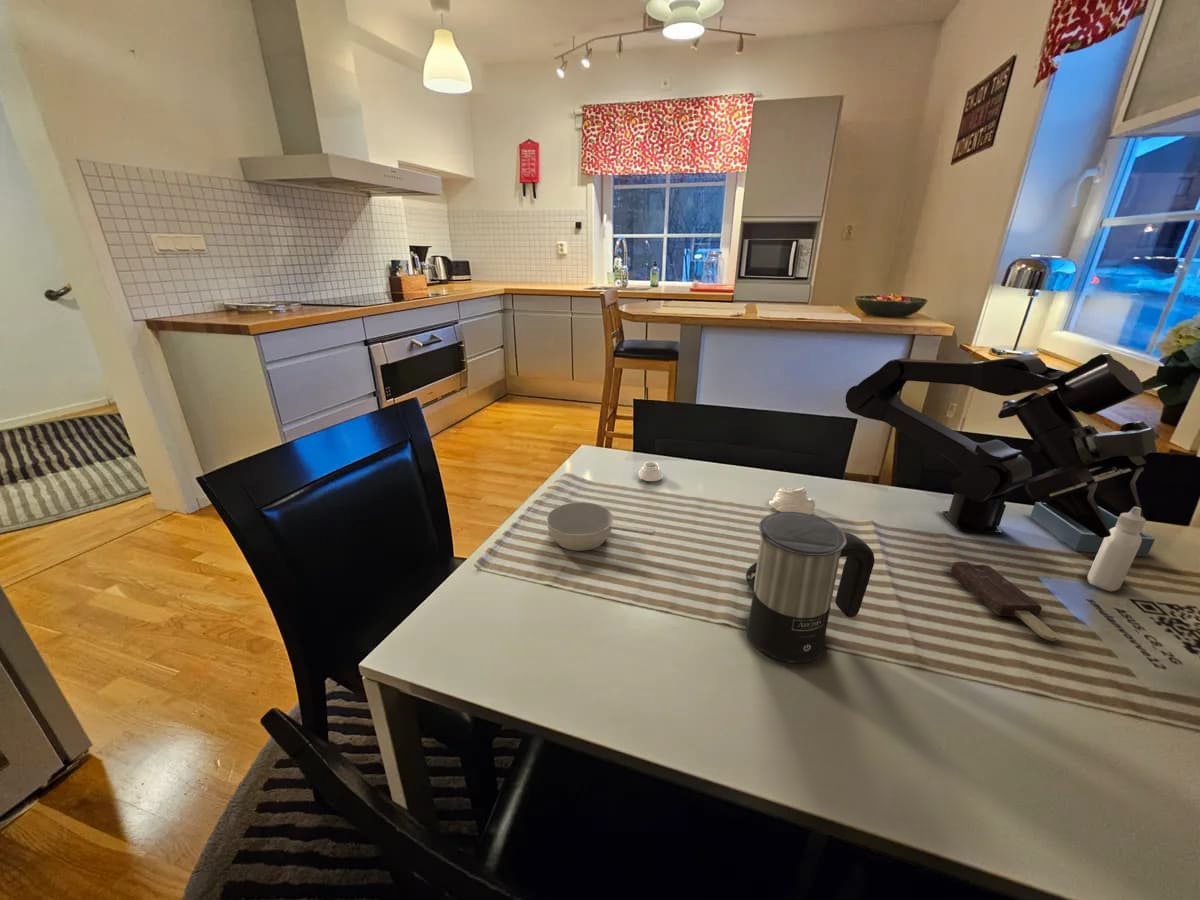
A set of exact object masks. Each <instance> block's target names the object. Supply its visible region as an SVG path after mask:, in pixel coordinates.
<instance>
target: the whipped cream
mask: <svg viewBox="0 0 1200 900" xmlns="http://www.w3.org/2000/svg"><path fill="white" fill-rule="evenodd" d="M768 505H770V506H771V507H773V508H774V509H775V511H778V512H801V513H805V514H810V515H814V512H815V508H816V501H815V499H814V498H813V497H808V493H807V489H806V488H805V487H804V486H803V487H800V488H796V489H795V488H788V487H780V488H779V489H778V490H777V491H776V493H775V495H774V497H772V500H769V501H768Z"/></svg>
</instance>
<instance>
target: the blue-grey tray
mask: <svg viewBox="0 0 1200 900" xmlns="http://www.w3.org/2000/svg"><path fill="white" fill-rule="evenodd" d="M1097 506H1098V508H1099V510H1100V512H1101V514H1102V516H1103V518H1104V520H1105V522H1106V524H1107V526H1108V528H1109V530H1110V529H1111V528H1114V527H1115V525H1116V523H1117V521H1118V518H1119V517H1118V516H1116V515H1114V514H1113V513H1111V512H1110V511H1108V510H1106V509H1104V508H1103V507H1101V506H1099V505H1097ZM1029 518H1030V519H1031V520H1033V521H1034V522H1036V524H1038V525H1040V527H1042V528H1043V529H1045V530H1046V531H1048V532H1049V533H1051V534H1052V535H1053V536H1055V537H1056V539H1058V540H1060V541H1061V542H1062V543H1064V544H1066V546H1068V547H1069V548H1071V549H1072V550H1074V551H1076V552H1088V553H1098V551H1099V549H1100V546H1101V544H1102V542H1103V540H1104V538H1100V537H1099V536H1097V535H1096V534H1094V533H1093V532H1091V531H1090V530H1088V529H1087V528H1085V527H1084V526H1082V525H1080V524H1079V523H1077V522H1076V521H1074V520H1073V519H1071V518H1070V517H1068V516H1066V515H1065V514H1063V513H1061V512H1060V511H1058V510H1056V509H1055V508H1053V507H1051V506H1050V505H1048V504H1046V503H1041V502H1040V501H1035V503H1034V505H1033V507H1032V510H1031V513H1030V515H1029ZM1139 534H1140V536H1141V539H1142V542H1141V545H1140V547H1139V549H1138V551H1137V553H1136V555H1135V557H1137V556H1138V557H1148V555H1149V553H1150V551H1151V549H1152V546H1153V545H1154V542H1155V541H1156V539H1155V538H1153V537H1151V536H1150V535H1148V534H1147V533H1146V532H1143V531H1142V530H1141V532H1140V533H1139Z"/></svg>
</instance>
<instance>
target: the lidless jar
mask: <svg viewBox="0 0 1200 900" xmlns="http://www.w3.org/2000/svg"><path fill="white" fill-rule="evenodd" d="M663 477H664V476H663V472H662V469H661V468H660V466H659V463H657V462H654V461H646V462H645V463H643V466H641V468H640V470H639V471H638V478H640V479H641V480H643V481H646V482H656V481H660V480H662V479H663Z"/></svg>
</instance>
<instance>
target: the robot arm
mask: <svg viewBox="0 0 1200 900" xmlns="http://www.w3.org/2000/svg"><path fill="white" fill-rule="evenodd" d="M907 382H920V383H934V384H935V383H936V384H948V385H961V386H962V385H963V386H966V387H971V388H973V389H976V390H978V391H981V392H985V393H988V394H994V395H998V396H1003V397H1011V396H1016V395H1020V394H1025V393H1030V392H1032V393H1030V394H1028V395H1026V396H1024V397H1022V398H1020V399H1018V400H1014V399H1009V400H1004V401H1003V402H1002V407H1001V409H1000V410H999V413H998V415H997V417H998V419H1007V418H1013V417H1015V416H1016V417H1017V419H1018V420H1019V421H1020V423H1021V424H1022V426H1023V427H1024V429H1025V430H1026V432H1027V433H1028V435H1029V437H1030V438H1031V440H1032V442H1034V444H1033V445H1030V446H1029V448H1030V449H1031V451H1032V452H1033V453H1037V452H1040V453H1041V455H1042V456H1043V458H1044V460H1046V463H1047V464H1048V465H1049V467H1050V469H1048V470H1045V473H1042V474H1038V475H1035V476H1033V468H1032V465H1031V462H1030V460H1029V459H1028V458H1027V457H1025V455H1022V454H1023V453H1024V452H1023V450H1020V449H1015V448H1013V447H1010V446H1009V445H1007V444H1006V443H1005V442H1003V441H1001V440H1000V439H997V438H996V439H992V440H988V441H985V442H977V441H974V440H972V439H970V438H969V437H967V436H965V435H963V434H962V433H960V432H958V431H955V430H954V429H952V428H950V427H948V426H946V425H945V424H943V423H941V422H939V421H937V420H935V419H933V418H932V417H930V416H928V415H926V414H925V413H922V412H921V411H918V410H917V409H915V408H913V407H911V406H909V405H907V404H906V403H904V402H903V400H902V398H901V396H900V395H899V394H898V393H899V392H900V391H901V390H902V389H903V388H904V386H905V385H906V383H907ZM1053 387H1056V388H1055V389H1053V390H1050V391H1049V392H1046V393H1044V394H1042V393H1039V392H1034V391H1039V390H1043V389H1044V390H1045V389H1048V388H1049V389H1050V388H1053ZM1143 393H1144V386H1143V383H1142V381H1141V379H1140V378H1139V377H1138V375H1137V374H1136V372H1135V371H1134V370H1132V369H1129V368H1128V367H1127V366H1126V365H1124V364H1123V363H1122V362H1121V361H1119V360H1117V359H1114V357H1113V356H1112V354H1111V353H1108V352H1106V353H1100V354H1098V355H1096V356H1094V357H1092V358H1090V359H1089V360H1088V361H1087V362H1085V363H1083V364H1081V365H1080V366H1079V365H1078V366H1077V367H1075V368H1073V369H1071V370H1069V371H1067V370H1062V369H1058V368H1054V367H1052V366H1047V364H1046V363H1045V362H1044V361H1043V360H1042V359H1041V358H1040V357H1038V356H1036V355H1019V356H1011V357H1003V358H997V359H996V358H995V359H989V360H980V361H979V360H978V361H968V360H944V359H943V360H942V359H941V360H940V359H914V358H909V357H904V358H896V359H890V360H888V361H887V362H886V363H884V364H883V366H881V367H880V368H879V369H878V370H876V371H875V372H873V373H872V374H870V375H869V376H868V377H867V376H866V377H865V378H864V379H863V380H862V381H860V382H859V383H858V384H855V385H853V386H851V387H850V388H849V389H848V390H847V391H846V394H845V406H846V408H847V410H848V411H849V412H851V413H852V414H855V415H857V416H860V417H862V418H866V419H868V420H875V421H878V422H884V423H886V424H887V425H889V426H890V427H893V428H894V429H896V430H898V431H899V432H901V433H903V434H905V435H906V436H908V437H910V438H911V439H913V440H915V441H917V442H918V443H919V444H921V445H924V446H926V447H927V448H929V449H930V450H931V451H933V452H935V453H937V454H939V455H940V456H942V457H944V458H945V459H947V460H948V461H951V462H952V463H953V464H954V465H955V466H956V468H957V469H958V471H959V472H960V474H961V475H960V476H957V477H954V478H951V480H950V484H951V491H952V493H953V496H952V499H951V503H950V505H949V509H948V510H943V511H942V513H941V514H942V516H943V517H945V519H946V520H948V521H949V522H950V523H951V524H952V525H953V526H954V527H955V529H957V530H958V531H960V532H965V533H966V532H967V533H976V534H977V533H979V534H993V535H1002V532H1003V531H1002V530H1001V529H1000V528H999V526H1000V525H1001V521H1002V519H1003V516H1004V514H1005V513H1004V512H1005V510H1006V507H1007V505H1006V504H1005V502H1006V499H1007V497H1006V496H1005V495H1004V494H1009V493H1010V492H1011V491H1012V490H1014V489H1017V488H1019V487H1021V486H1024V489H1025V490H1026V492H1027V494H1028V495H1029V497H1030V498H1031V500H1035V499H1038V498H1042V497H1043V496H1044V498H1042V499H1040V500H1039V502H1041V503H1046V504H1048V505H1050V506H1051V507H1053V508H1055V509H1056V510H1058V511H1060V512H1061V513H1063V514H1065V515H1066V516H1068V517H1070V518H1071V519H1073V520H1074V521H1076V522H1077V523H1079V524H1080V525H1082V526H1084V527H1085V528H1087V529H1088V530H1090V531H1091V532H1093V533H1094V534H1096V535H1097V536H1099V537H1100V538H1104V537H1109V536H1111V533H1110V531H1109V528H1108V526H1107V524H1106V522H1105V520H1104V518H1103V516H1102V514H1101V512H1100V510H1099V508H1098V506H1099V505H1098V504H1097V502H1096V500H1095V498H1094V496H1095V494H1097V496H1099V497H1100V498H1102V499H1103V500H1104V501H1105V502H1106V503H1108V504H1109V505H1110V506H1111V507H1112V508H1114V509H1115V510H1116V511H1117V512H1118V513H1119V514H1121V513H1128V512H1130V511H1131V510H1132V508H1133V507H1139V508H1141V512H1140V516H1141V517H1143V518H1144V519H1145V517H1144V514H1143V510H1142V506H1141V502H1140V499H1139V496H1138V492H1137V486H1136V482H1137V480H1138V478H1139V476H1140V475H1141V473H1142V472H1143V471H1144V466H1142V467H1139V468H1136V469H1132V468H1135V467H1138V466H1141V465H1144V464H1147V461H1146V460H1145V458H1144V457H1143V456H1147V455H1148V454H1149V453H1157V452H1158V448H1157V444H1156V440H1158V439H1160V434H1159V433H1157V432H1156V431H1155V428H1154V427H1149V426H1148V424H1146V423H1145V421H1143V420H1139V421H1131V422H1130V421H1129V422H1125V423H1122V425H1121V427H1120V429H1119V430H1118V431H1117V430H1113V431H1109V432H1098V430H1097V429H1096V427H1095V426H1093V425H1092V426H1091V425H1090V424H1087V425H1083V424H1082V423H1081V421H1080V420H1079V419H1078V417H1077V416H1076V415H1075V413H1080V412H1081V413H1083V414H1085V415H1089V416H1091V415H1094V414H1097V413H1099V412H1101V411H1104V410H1107V409H1108V408H1112V407H1114V406H1116V405H1118V404H1121V403H1123V402H1126V401H1128V400H1130V399H1132V398H1135V397H1137V396H1140V395H1143ZM1091 481H1093V482H1091ZM1088 482H1091V483H1088ZM1047 495H1048V497H1045V496H1047Z"/></svg>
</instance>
